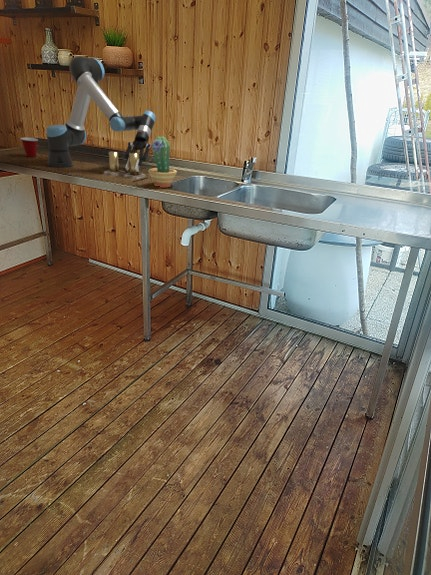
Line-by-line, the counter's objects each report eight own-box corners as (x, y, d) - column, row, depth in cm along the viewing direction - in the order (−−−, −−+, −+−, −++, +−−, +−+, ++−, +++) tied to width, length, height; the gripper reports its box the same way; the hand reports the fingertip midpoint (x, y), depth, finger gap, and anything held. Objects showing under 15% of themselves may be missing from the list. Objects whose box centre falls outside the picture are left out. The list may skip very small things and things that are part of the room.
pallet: (100, 176, 228) (100, 171, 227) (115, 173, 240) (115, 168, 239) (134, 182, 220) (133, 177, 219) (148, 178, 232) (148, 173, 230)
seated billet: (108, 173, 231) (106, 152, 225) (113, 172, 235) (112, 151, 229) (115, 174, 229) (114, 153, 224) (120, 173, 233) (119, 152, 228)
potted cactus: (143, 183, 218) (142, 135, 207) (167, 181, 227) (168, 134, 215) (156, 189, 207) (156, 138, 196) (182, 187, 216) (183, 138, 205)
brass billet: (128, 175, 225) (127, 153, 220) (133, 174, 230) (132, 152, 224) (135, 176, 224) (134, 154, 218) (140, 175, 228) (140, 153, 222)
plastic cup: (36, 158, 269) (34, 139, 263) (20, 157, 268) (17, 138, 263) (43, 156, 278) (40, 137, 273) (27, 155, 278) (24, 136, 273)
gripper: (159, 141, 230) (148, 175, 223) (130, 138, 234) (119, 171, 227) (155, 132, 223) (144, 167, 216) (126, 129, 227) (114, 163, 220)
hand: (131, 169), depth 222 cm, fingers closed on brass billet, 5 cm apart
